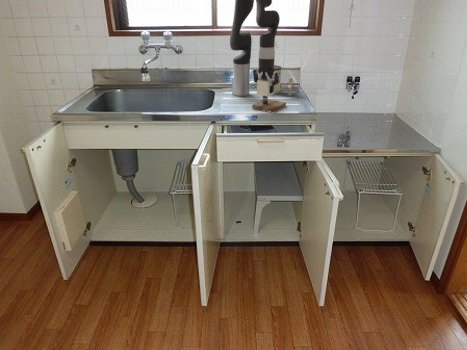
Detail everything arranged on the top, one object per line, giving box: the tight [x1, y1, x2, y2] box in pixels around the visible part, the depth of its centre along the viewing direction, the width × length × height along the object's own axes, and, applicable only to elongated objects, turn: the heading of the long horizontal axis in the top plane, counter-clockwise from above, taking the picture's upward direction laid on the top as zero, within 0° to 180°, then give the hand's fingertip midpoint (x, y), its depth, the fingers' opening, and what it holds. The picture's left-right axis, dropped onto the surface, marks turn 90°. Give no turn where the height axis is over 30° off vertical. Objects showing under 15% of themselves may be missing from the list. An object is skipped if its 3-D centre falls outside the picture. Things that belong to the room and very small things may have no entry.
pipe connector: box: [280, 76, 300, 97], centre depth 193 cm, size 10×10×10 cm
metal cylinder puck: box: [261, 96, 269, 104], centre depth 174 cm, size 3×3×4 cm
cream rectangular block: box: [256, 79, 274, 97], centre depth 171 cm, size 6×6×8 cm
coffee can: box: [270, 64, 282, 95], centre depth 200 cm, size 10×10×14 cm
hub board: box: [251, 98, 287, 113], centre depth 175 cm, size 12×13×2 cm
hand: (265, 92), depth 172 cm, fingers closed on cream rectangular block, 6 cm apart
